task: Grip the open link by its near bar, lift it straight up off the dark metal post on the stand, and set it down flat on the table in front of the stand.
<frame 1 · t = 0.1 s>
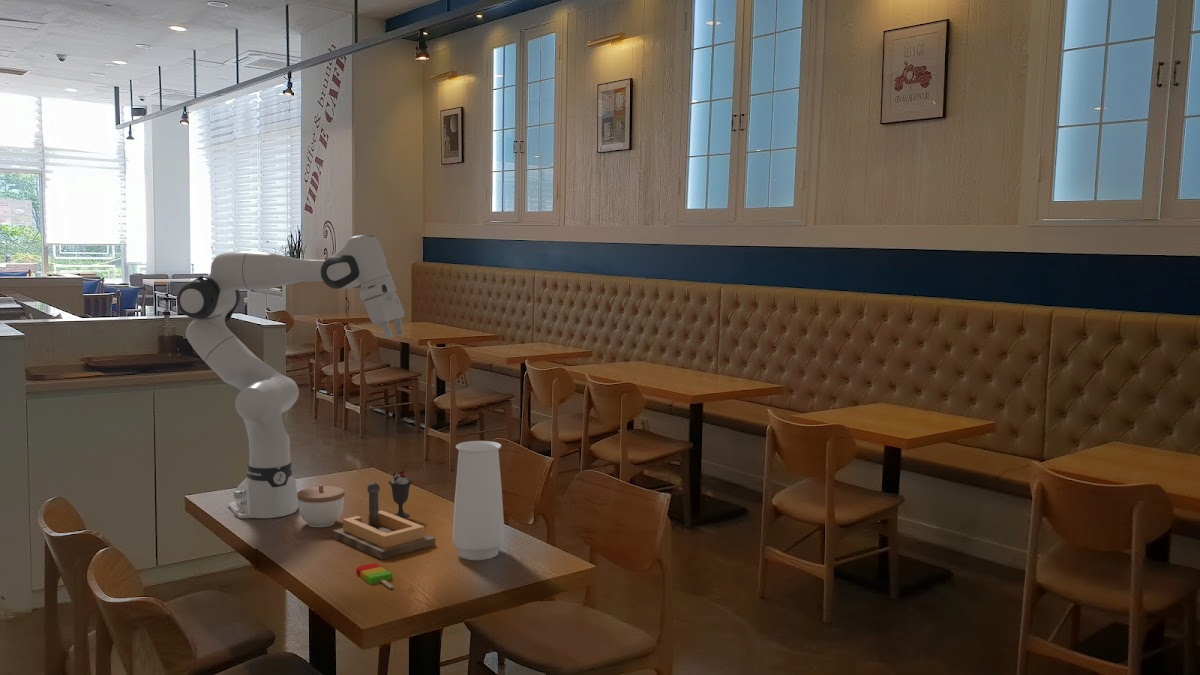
hand: (395, 336, 260), 52 cm above the table, tool tilted 20°, fingers open, 8 cm apart
lidded bowl: (321, 524, 257), on the table
link: (383, 533, 243), point 2 cm above the table, touching stand
stand: (383, 541, 243), on the table
sundae: (400, 516, 265), on the table
popsicle: (378, 582, 216), on the table
vase: (478, 554, 234), on the table
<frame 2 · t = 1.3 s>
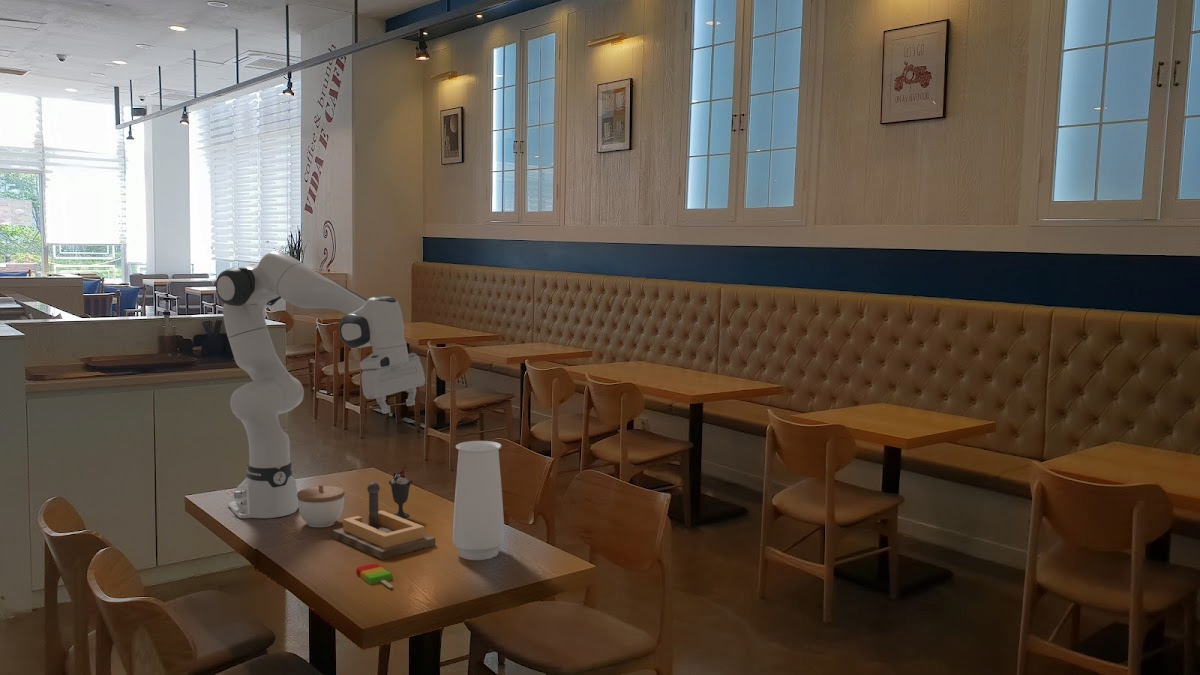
hand: (398, 409, 243), 35 cm above the table, tool pointing down, fingers open, 8 cm apart
nothing on the table moved.
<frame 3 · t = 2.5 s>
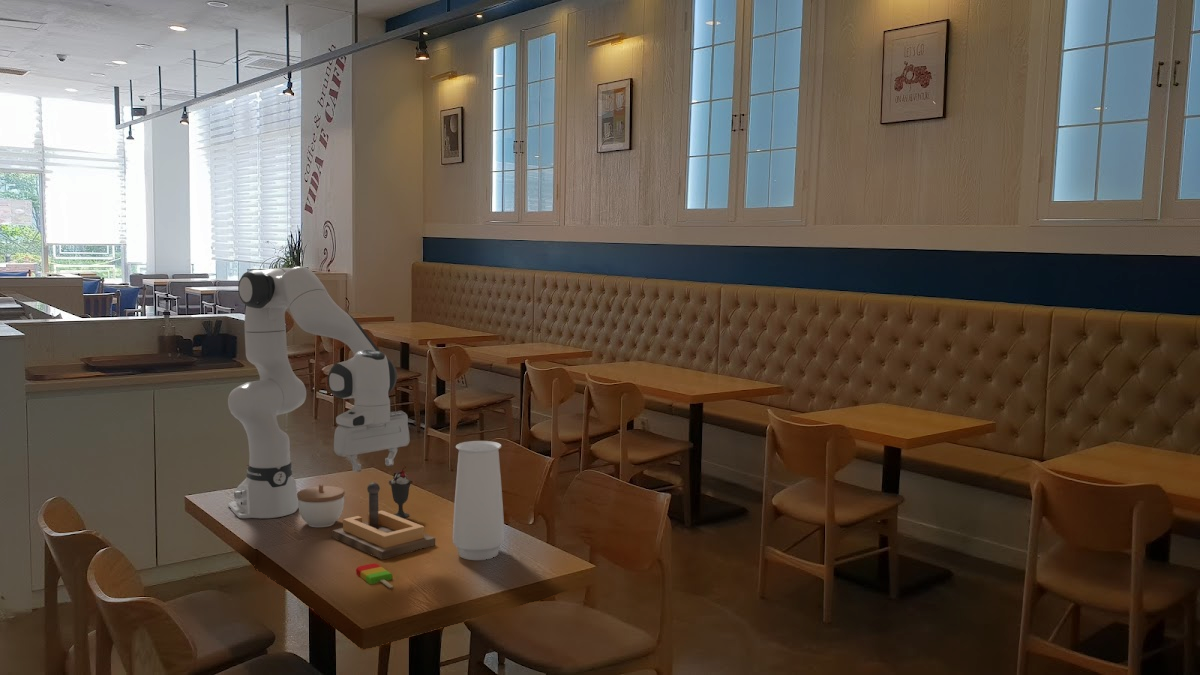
hand: (373, 468, 235), 21 cm above the table, tool pointing down, fingers open, 8 cm apart
nothing on the table moved.
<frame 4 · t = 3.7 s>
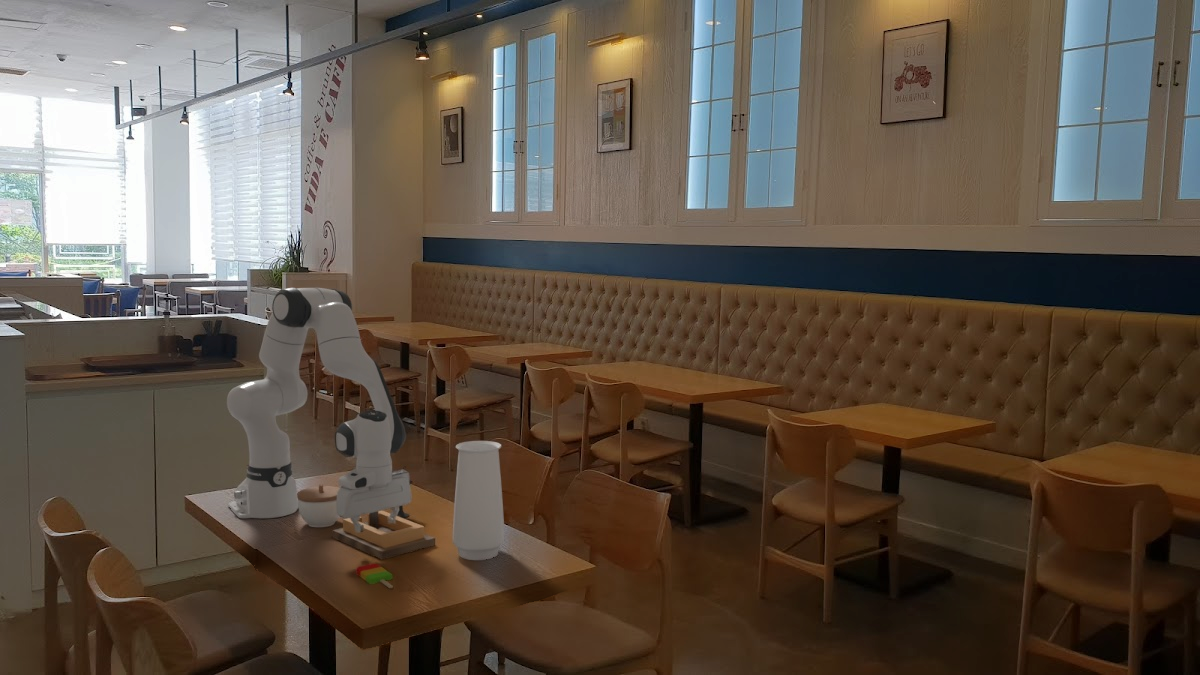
hand: (375, 527, 236), 6 cm above the table, tool pointing down, fingers open, 8 cm apart
nothing on the table moved.
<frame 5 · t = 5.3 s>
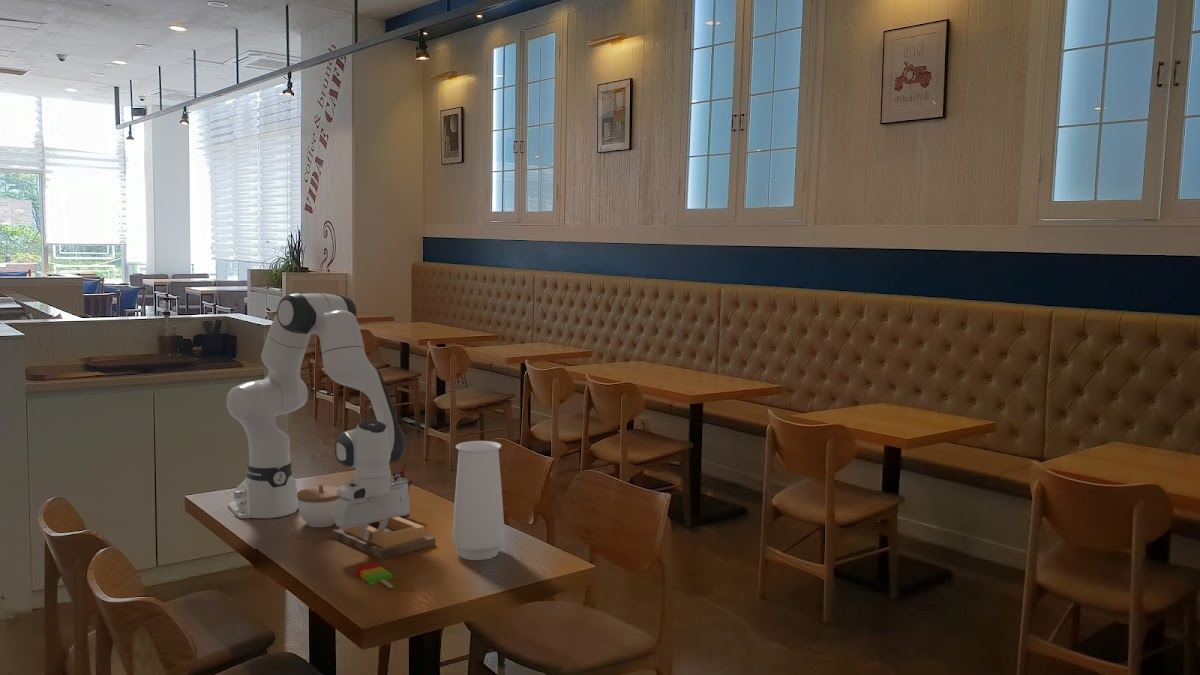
hand: (373, 538, 237), 3 cm above the table, tool pointing down, fingers closed on link, 2 cm apart
link: (383, 533, 243), point 2 cm above the table, touching gripper, stand
everything else where it was.
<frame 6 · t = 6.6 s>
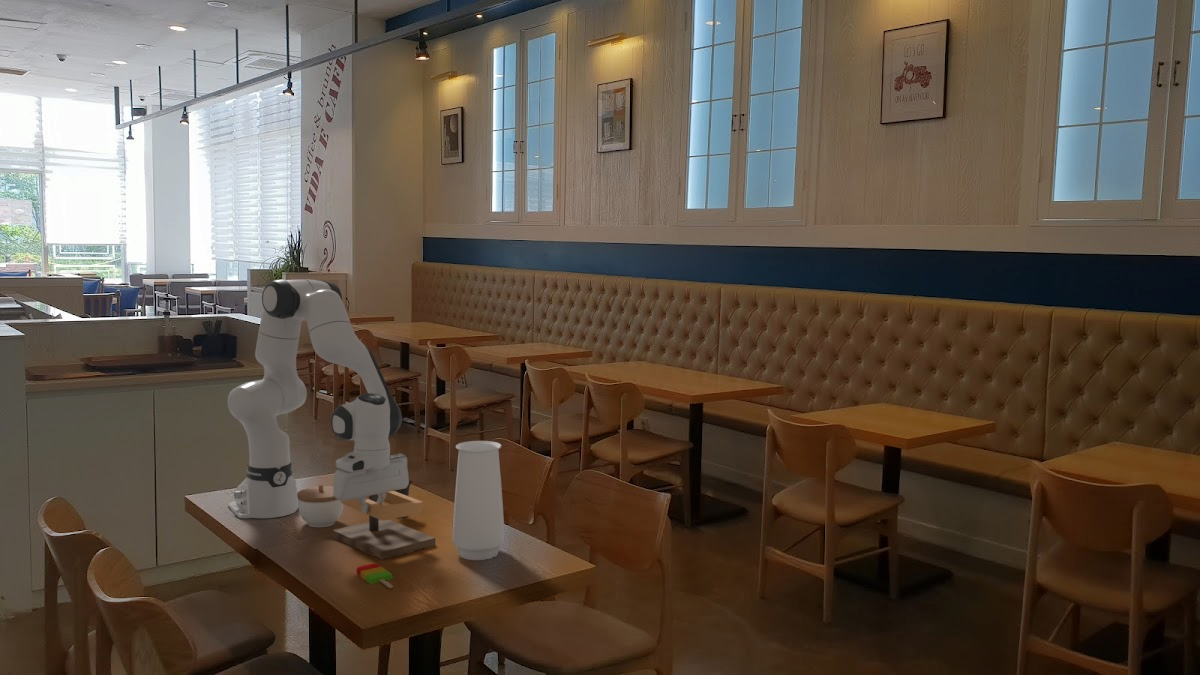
hand: (372, 511, 236), 10 cm above the table, tool pointing down, fingers closed on link, 2 cm apart
link: (381, 508, 242), point 9 cm above the table, touching gripper
everything else where it was.
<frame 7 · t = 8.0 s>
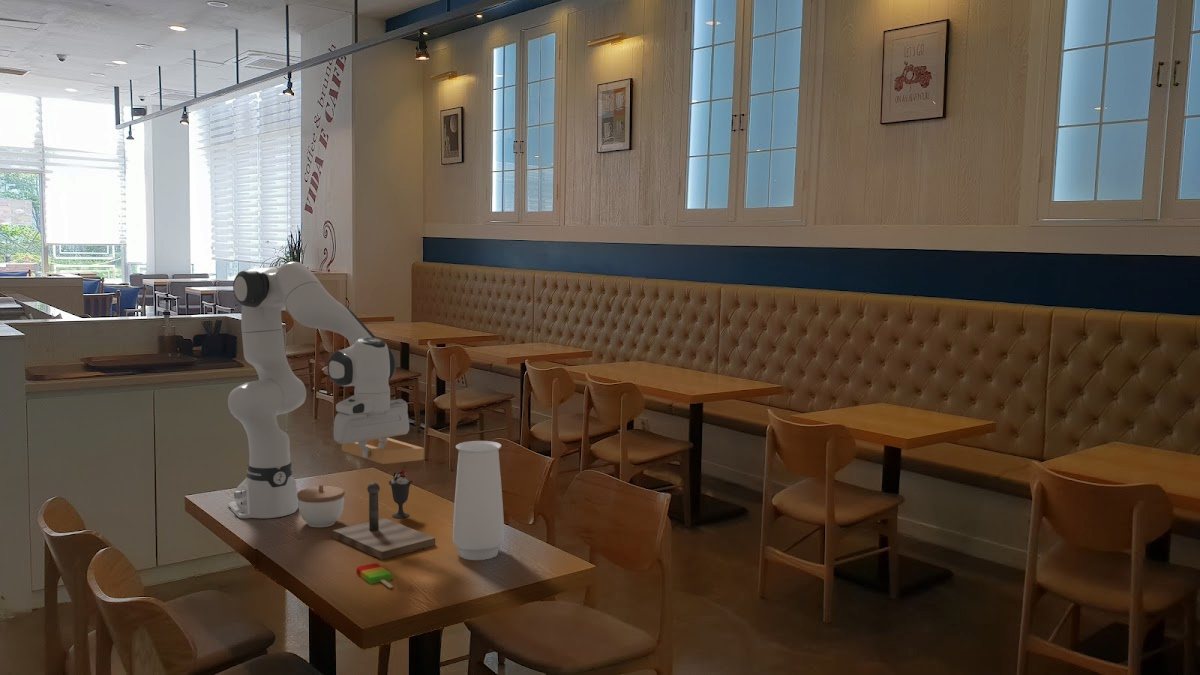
hand: (372, 456, 234), 24 cm above the table, tool pointing down, fingers closed on link, 2 cm apart
link: (382, 455, 240), point 23 cm above the table, touching gripper
everything else where it was.
when the fingers open (2 cm above the table, at t = 12.9 s): link drops 1 cm, on the table.
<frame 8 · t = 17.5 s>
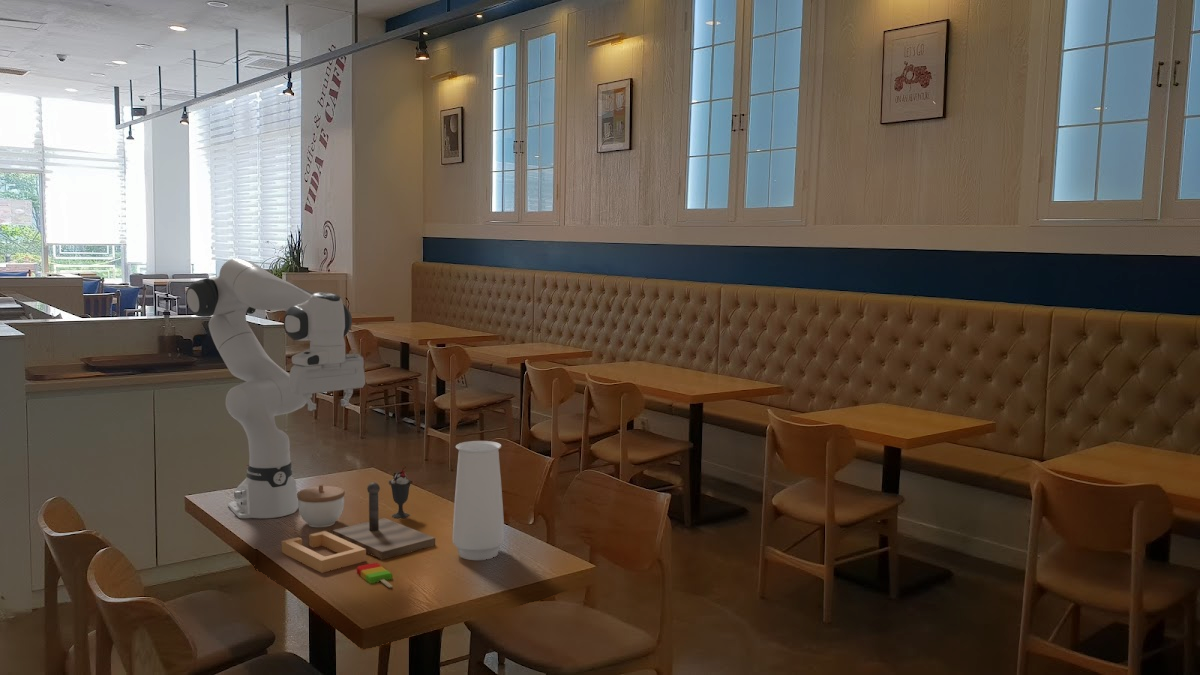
hand: (328, 408, 240), 35 cm above the table, tool pointing down, fingers open, 8 cm apart
link: (323, 556, 230), on the table
everything else where it was.
at the end: link touching table; link inside the target area (0.3 cm from its centre), on the table; link tilted 0° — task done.
